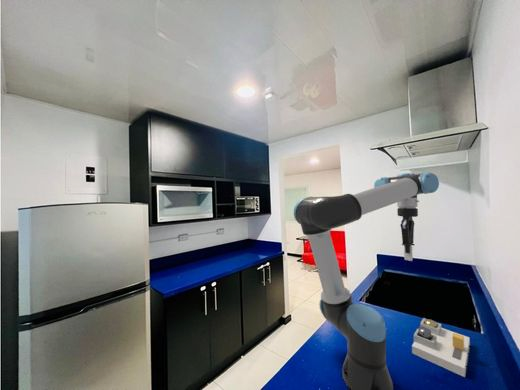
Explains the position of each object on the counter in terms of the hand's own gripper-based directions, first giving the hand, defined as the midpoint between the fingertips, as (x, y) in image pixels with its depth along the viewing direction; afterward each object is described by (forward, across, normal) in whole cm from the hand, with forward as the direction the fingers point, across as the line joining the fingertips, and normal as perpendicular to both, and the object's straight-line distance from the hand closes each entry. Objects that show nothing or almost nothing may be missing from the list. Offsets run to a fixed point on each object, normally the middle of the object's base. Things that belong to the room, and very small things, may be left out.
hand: (408, 259), depth 93 cm
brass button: (+31, +8, -6) cm, 33 cm away
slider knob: (+31, +1, -15) cm, 35 cm away
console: (+34, +1, -10) cm, 36 cm away
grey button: (+30, -4, -6) cm, 30 cm away
